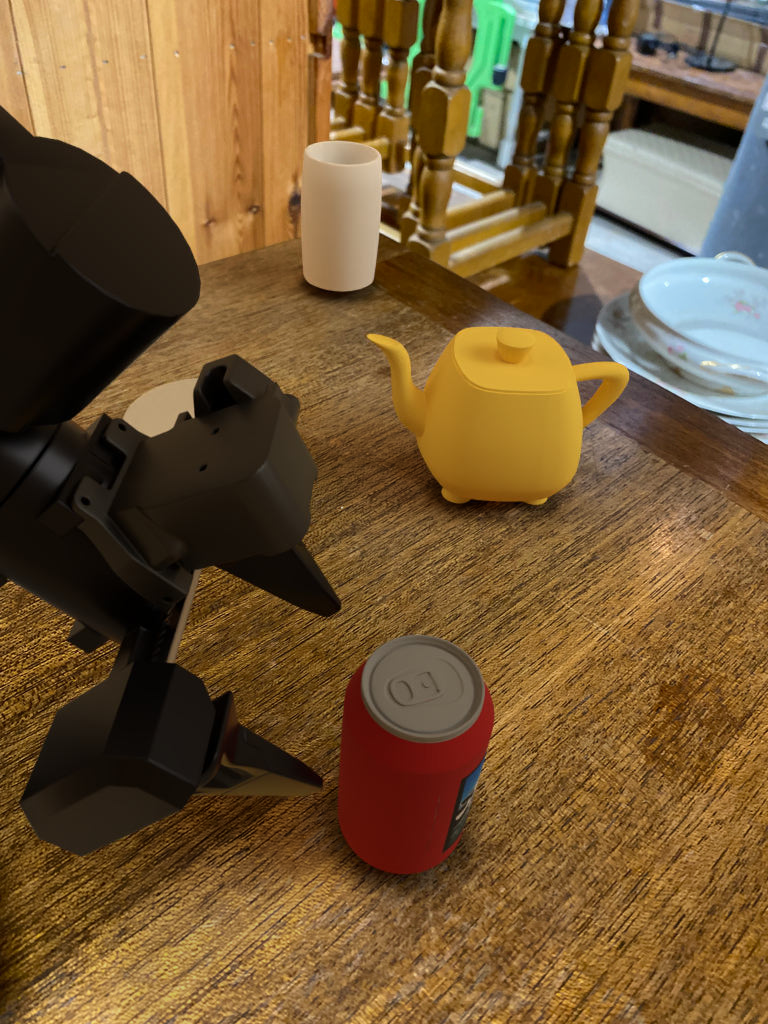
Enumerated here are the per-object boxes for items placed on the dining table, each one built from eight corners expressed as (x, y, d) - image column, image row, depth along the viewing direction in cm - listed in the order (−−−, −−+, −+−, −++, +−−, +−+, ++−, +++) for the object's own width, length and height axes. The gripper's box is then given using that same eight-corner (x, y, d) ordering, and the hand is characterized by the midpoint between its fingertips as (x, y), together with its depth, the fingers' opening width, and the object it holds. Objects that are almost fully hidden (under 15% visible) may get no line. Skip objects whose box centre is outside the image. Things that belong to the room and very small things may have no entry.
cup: (329, 310, 83) (333, 172, 74) (285, 279, 88) (283, 146, 78) (391, 291, 87) (402, 159, 78) (346, 263, 92) (351, 135, 82)
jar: (104, 500, 58) (92, 447, 55) (170, 417, 67) (163, 366, 63) (249, 532, 57) (245, 479, 54) (297, 443, 65) (297, 392, 62)
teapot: (357, 418, 68) (364, 286, 60) (579, 425, 70) (616, 297, 62) (360, 522, 58) (370, 381, 50) (619, 527, 60) (670, 391, 52)
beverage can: (485, 855, 40) (530, 725, 32) (362, 902, 38) (378, 774, 30) (431, 745, 45) (459, 607, 37) (319, 781, 43) (323, 643, 35)
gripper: (37, 571, 16) (489, 851, 24) (216, 221, 30) (464, 467, 37) (-187, 751, 21) (242, 934, 29) (55, 381, 35) (301, 569, 43)
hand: (326, 691), depth 34 cm, fingers open, 9 cm apart
